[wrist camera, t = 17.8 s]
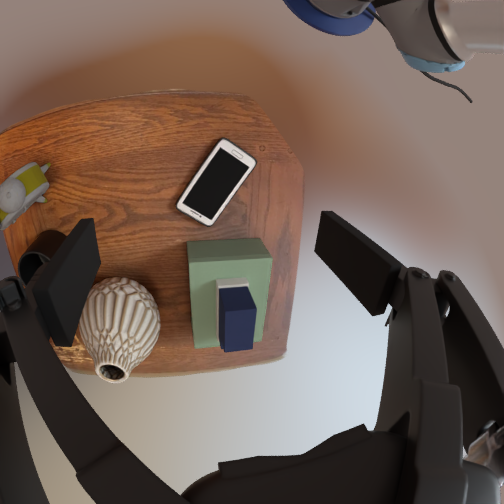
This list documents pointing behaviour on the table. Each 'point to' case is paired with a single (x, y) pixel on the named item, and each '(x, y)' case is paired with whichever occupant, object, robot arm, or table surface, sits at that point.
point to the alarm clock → (22, 192)
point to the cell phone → (216, 182)
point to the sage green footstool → (222, 267)
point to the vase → (119, 326)
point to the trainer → (235, 314)
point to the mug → (39, 254)
